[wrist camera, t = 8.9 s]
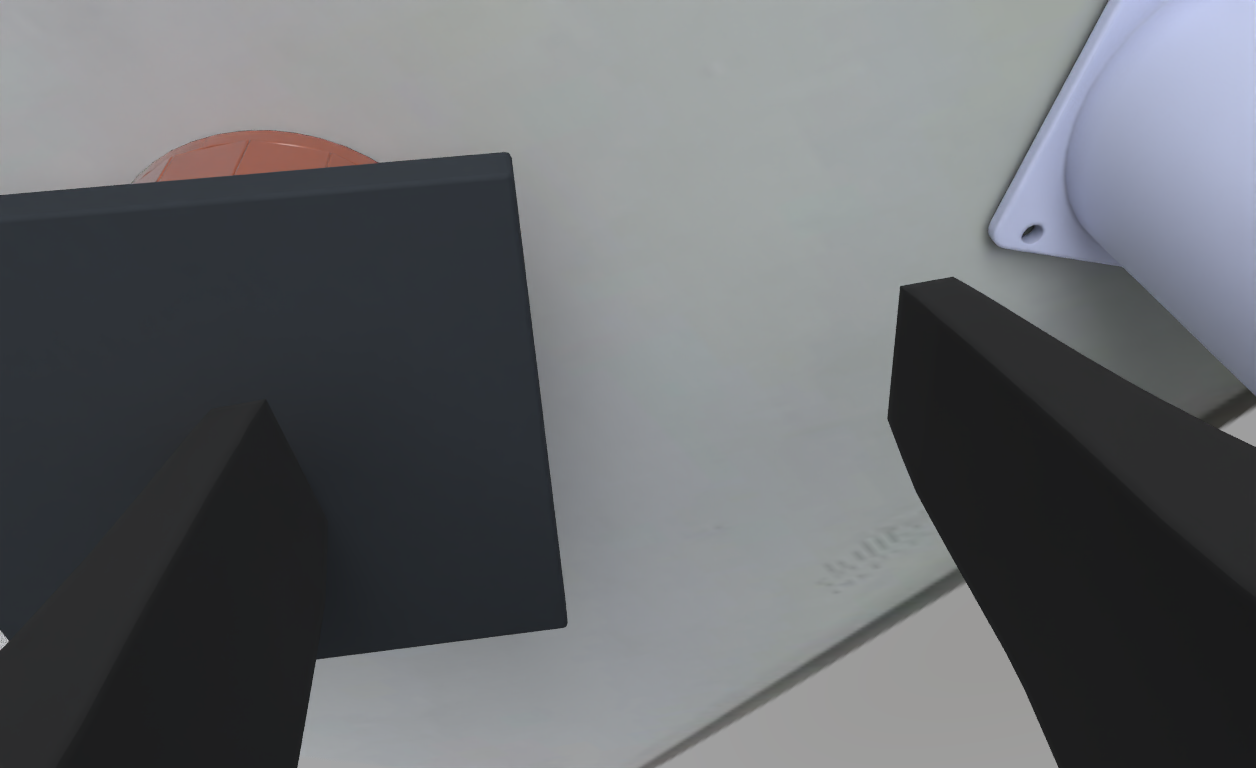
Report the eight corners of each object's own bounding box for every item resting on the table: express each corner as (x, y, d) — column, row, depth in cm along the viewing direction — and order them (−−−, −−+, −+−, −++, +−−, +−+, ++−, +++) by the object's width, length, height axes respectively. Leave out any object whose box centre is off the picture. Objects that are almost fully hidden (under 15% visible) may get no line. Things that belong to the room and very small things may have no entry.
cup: (486, 161, 19) (489, 306, 15) (447, 428, 24) (441, 595, 20) (83, 98, 17) (-40, 243, 13) (126, 401, 22) (44, 580, 18)
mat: (510, 148, 13) (520, 299, 10) (565, 599, 21) (580, 767, 17) (-277, 216, 13) (-518, 400, 10) (63, 662, 20) (-13, 851, 17)
